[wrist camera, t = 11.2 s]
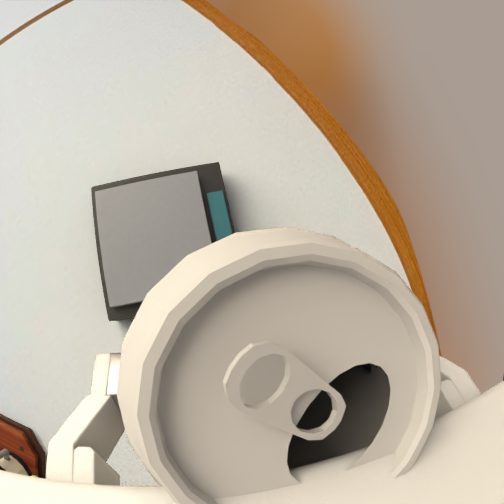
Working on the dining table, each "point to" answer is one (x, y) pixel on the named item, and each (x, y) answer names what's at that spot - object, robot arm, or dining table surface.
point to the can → (275, 365)
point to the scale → (154, 229)
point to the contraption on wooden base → (20, 450)
